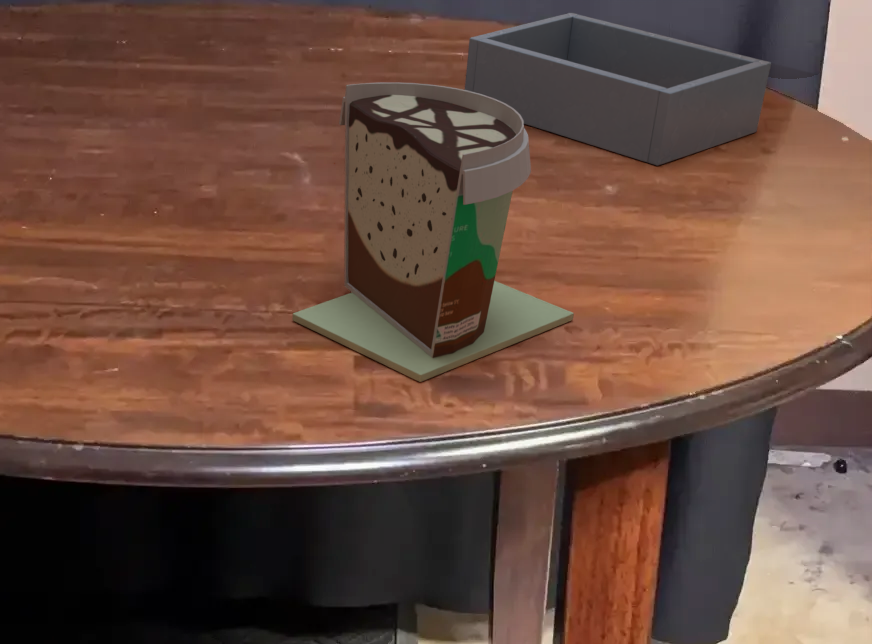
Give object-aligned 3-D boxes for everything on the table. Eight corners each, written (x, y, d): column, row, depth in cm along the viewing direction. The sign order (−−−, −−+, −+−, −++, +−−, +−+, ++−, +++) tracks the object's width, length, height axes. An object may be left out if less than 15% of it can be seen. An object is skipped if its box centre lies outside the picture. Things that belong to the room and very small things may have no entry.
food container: (560, 349, 73) (590, 140, 67) (448, 371, 71) (469, 158, 65) (433, 258, 82) (450, 68, 76) (331, 275, 80) (341, 81, 74)
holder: (757, 132, 100) (771, 62, 98) (657, 166, 95) (670, 93, 92) (562, 76, 111) (570, 12, 108) (462, 104, 105) (469, 37, 103)
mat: (573, 320, 76) (574, 312, 76) (420, 382, 71) (420, 374, 70) (443, 266, 82) (443, 259, 82) (292, 320, 76) (292, 313, 76)
